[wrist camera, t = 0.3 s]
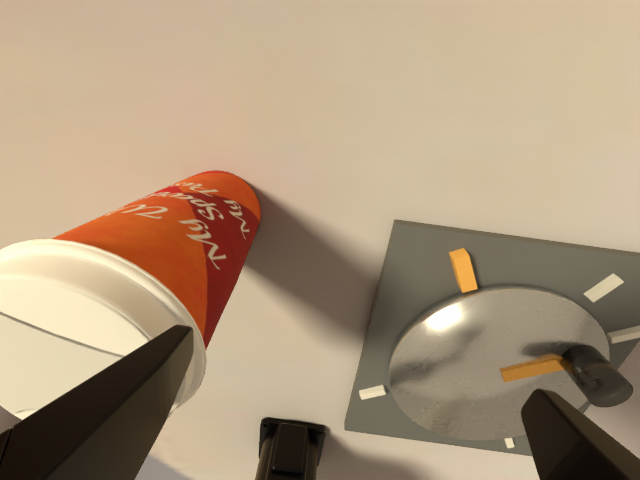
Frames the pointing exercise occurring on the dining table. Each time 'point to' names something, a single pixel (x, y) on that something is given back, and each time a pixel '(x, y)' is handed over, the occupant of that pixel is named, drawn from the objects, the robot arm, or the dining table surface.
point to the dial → (499, 360)
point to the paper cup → (121, 287)
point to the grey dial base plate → (469, 273)
